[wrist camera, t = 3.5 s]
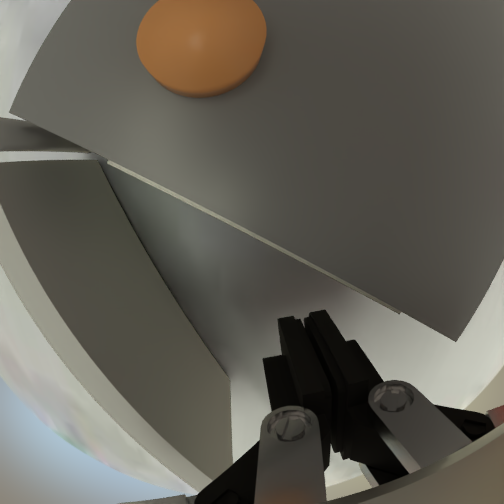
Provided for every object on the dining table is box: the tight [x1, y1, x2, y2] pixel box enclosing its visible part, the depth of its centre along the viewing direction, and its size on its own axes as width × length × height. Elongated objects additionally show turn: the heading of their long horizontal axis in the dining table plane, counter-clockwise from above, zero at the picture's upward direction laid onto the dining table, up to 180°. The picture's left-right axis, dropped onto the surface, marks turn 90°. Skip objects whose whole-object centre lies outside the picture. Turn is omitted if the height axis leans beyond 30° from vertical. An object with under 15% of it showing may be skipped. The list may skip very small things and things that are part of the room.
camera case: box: [9, 0, 504, 342], centre depth 9 cm, size 12×15×9 cm
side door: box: [0, 117, 233, 492], centre depth 11 cm, size 2×15×8 cm, turn 26°
